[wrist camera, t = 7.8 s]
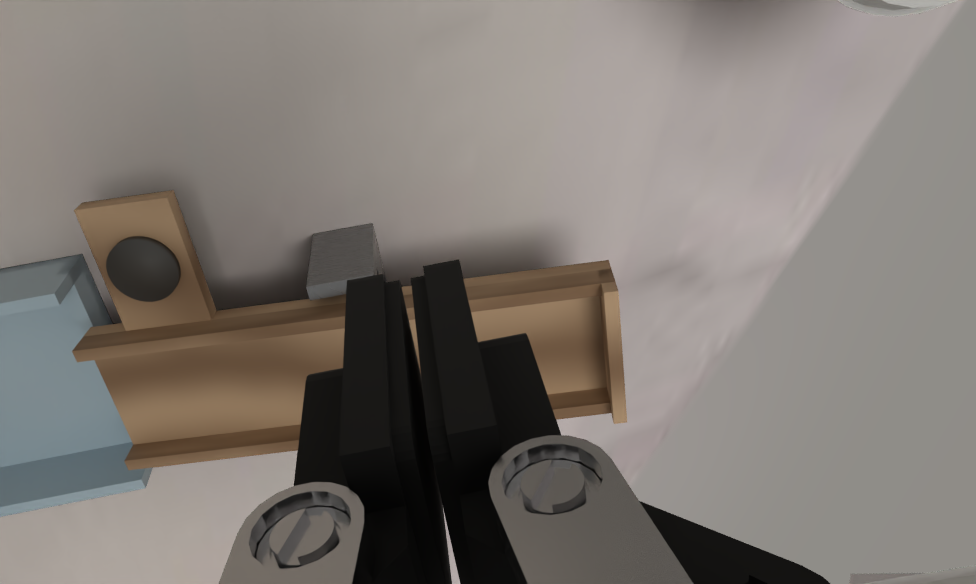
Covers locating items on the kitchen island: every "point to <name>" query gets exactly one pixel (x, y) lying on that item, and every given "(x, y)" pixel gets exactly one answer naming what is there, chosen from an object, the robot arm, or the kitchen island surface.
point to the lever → (297, 340)
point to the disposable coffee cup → (894, 6)
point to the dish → (56, 393)
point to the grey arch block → (342, 260)
